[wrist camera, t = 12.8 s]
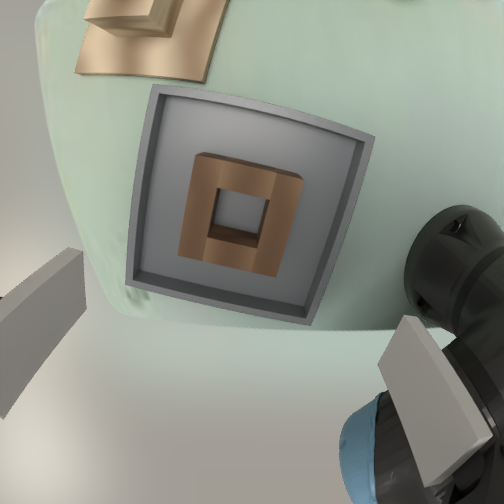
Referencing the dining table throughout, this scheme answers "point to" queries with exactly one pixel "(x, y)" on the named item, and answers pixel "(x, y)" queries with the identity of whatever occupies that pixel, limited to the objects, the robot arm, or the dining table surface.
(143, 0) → the stake stand
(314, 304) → the tray
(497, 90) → the dining table surface
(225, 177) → the collar
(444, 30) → the dining table surface
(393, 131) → the dining table surface
